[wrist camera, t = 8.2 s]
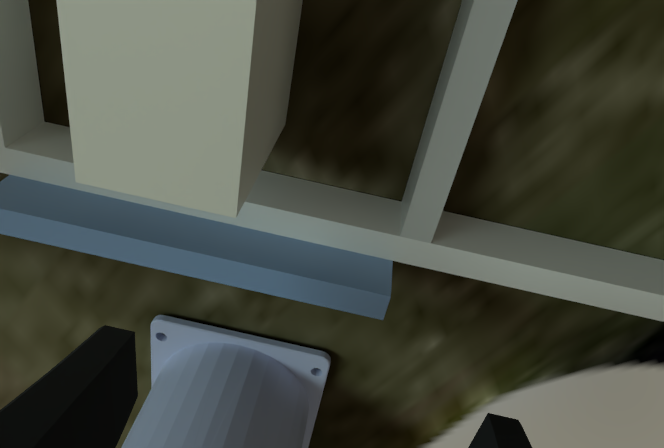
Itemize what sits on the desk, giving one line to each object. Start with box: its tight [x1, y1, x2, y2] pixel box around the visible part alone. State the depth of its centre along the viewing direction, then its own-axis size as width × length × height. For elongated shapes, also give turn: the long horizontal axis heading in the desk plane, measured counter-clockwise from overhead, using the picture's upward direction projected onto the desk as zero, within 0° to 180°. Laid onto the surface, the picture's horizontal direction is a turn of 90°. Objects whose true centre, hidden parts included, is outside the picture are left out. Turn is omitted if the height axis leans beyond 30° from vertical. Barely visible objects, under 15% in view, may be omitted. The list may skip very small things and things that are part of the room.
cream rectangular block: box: [56, 0, 303, 218], centre depth 13 cm, size 8×4×6 cm, turn 170°
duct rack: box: [0, 0, 664, 322], centre depth 14 cm, size 15×29×4 cm, turn 80°
